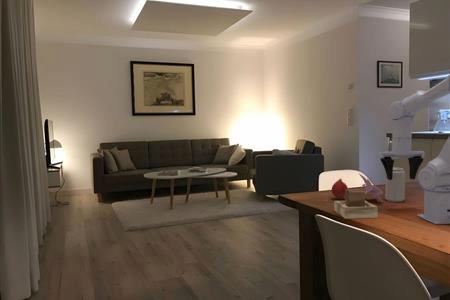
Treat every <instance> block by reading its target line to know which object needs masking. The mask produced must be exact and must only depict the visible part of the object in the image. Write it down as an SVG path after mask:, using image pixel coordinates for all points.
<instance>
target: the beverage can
mask: <svg viewBox="0 0 450 300" xmlns="http://www.w3.org/2000/svg"><path fill="white" fill-rule="evenodd" d="M405 178H406V172H405V169H404V168H402V167H393V178H392V180H389V179H387V175H386V174H385V184H384V185H385V195H384V197H385V200H387V202H390V203H391V202H392V203H401V202H403V201H405V194H406V193H405V192H406V191H405V190H406V187H405V183H406V181H405V180H406V179H405Z"/></svg>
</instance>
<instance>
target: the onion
mask: <svg viewBox="0 0 450 300" xmlns="http://www.w3.org/2000/svg"><path fill="white" fill-rule="evenodd" d="M346 190H348V185H347V184H346V183H345V182H343V179H342V178H339V179H338V180H337V181H335V182H334V183H333V185H332V186H331V193H332V195H333V196H334V197H335V198H336V199H338V201H342V200H343V198H344V199H345V192H346Z"/></svg>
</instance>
